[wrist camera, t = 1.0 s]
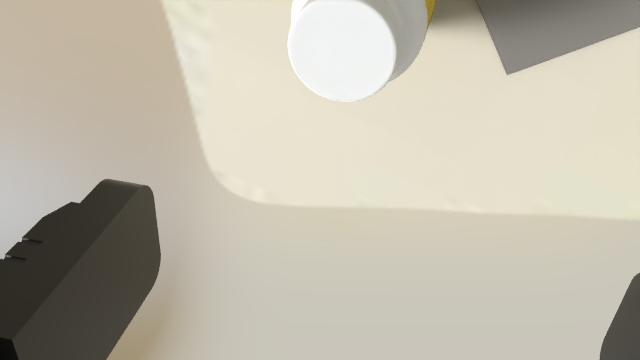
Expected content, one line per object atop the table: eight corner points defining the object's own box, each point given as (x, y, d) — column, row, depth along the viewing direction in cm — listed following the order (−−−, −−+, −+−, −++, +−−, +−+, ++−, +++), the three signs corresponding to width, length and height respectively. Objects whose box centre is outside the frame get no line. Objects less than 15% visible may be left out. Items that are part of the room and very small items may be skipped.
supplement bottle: (461, -61, 27) (444, 11, 19) (415, 44, 30) (386, 142, 22) (349, -104, 27) (288, -49, 19) (316, 6, 30) (253, 90, 22)
